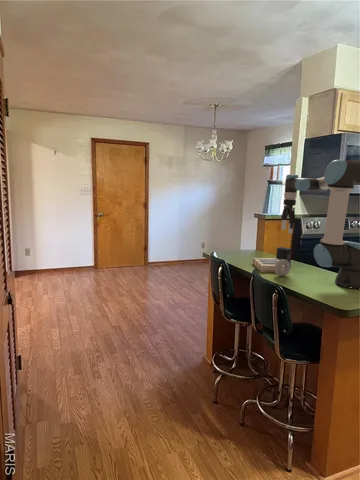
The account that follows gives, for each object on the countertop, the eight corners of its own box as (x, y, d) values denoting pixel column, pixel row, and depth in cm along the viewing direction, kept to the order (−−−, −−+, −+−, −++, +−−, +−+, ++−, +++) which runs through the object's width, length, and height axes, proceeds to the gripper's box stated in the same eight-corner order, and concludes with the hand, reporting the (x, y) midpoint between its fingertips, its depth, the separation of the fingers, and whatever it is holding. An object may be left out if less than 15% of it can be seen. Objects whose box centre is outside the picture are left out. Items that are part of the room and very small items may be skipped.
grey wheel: (287, 274, 191) (288, 258, 189) (291, 276, 188) (292, 259, 186) (272, 275, 188) (274, 259, 186) (276, 277, 185) (277, 260, 183)
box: (290, 264, 217) (292, 248, 215) (285, 265, 213) (287, 249, 211) (280, 261, 223) (281, 246, 221) (275, 263, 219) (276, 247, 217)
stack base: (287, 272, 196) (287, 265, 195) (261, 272, 195) (261, 265, 195) (276, 264, 216) (277, 257, 215) (252, 263, 215) (253, 257, 214)
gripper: (278, 197, 221) (275, 228, 225) (290, 200, 197) (287, 234, 201) (289, 197, 221) (286, 228, 226) (303, 200, 197) (299, 235, 201)
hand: (286, 231), depth 213 cm, fingers open, 13 cm apart
